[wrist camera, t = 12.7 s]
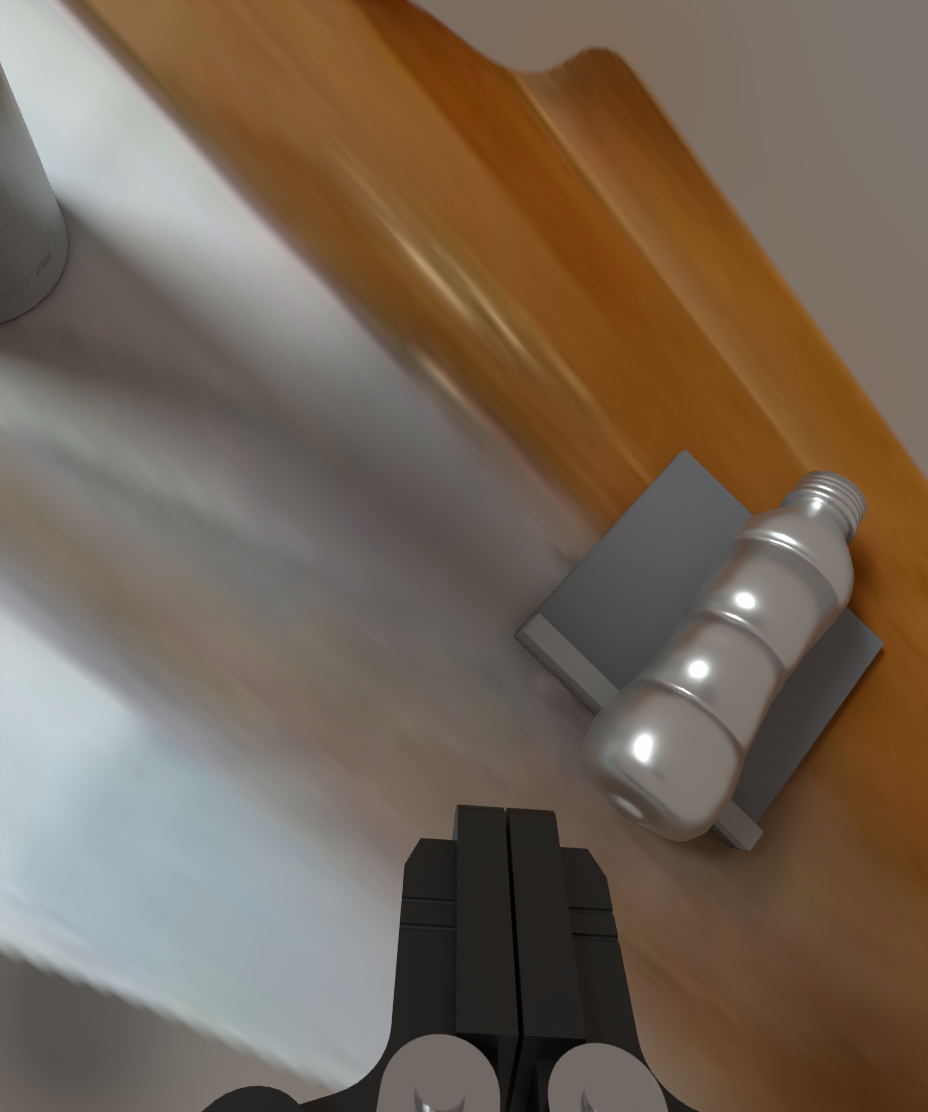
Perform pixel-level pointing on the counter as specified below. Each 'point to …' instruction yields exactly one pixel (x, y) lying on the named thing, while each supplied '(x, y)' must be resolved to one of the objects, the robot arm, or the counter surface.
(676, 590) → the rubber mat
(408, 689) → the counter surface
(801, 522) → the silver aluminum bottle
